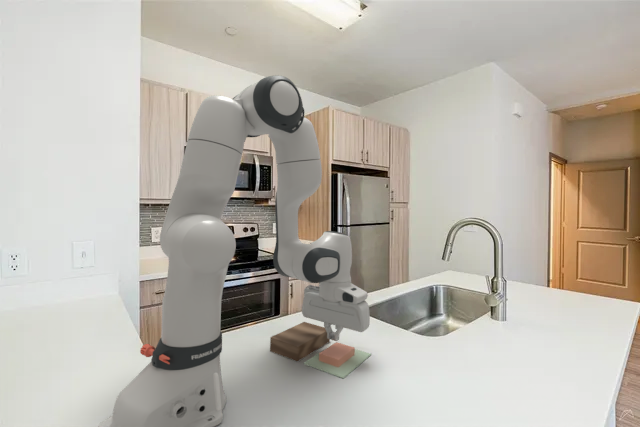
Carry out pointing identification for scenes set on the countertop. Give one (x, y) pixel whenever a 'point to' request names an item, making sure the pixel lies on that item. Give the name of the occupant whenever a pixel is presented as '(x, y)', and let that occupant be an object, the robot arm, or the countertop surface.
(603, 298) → the countertop surface
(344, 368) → the mat
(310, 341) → the brown wooden block
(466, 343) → the countertop surface
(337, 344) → the salmon pink eraser
